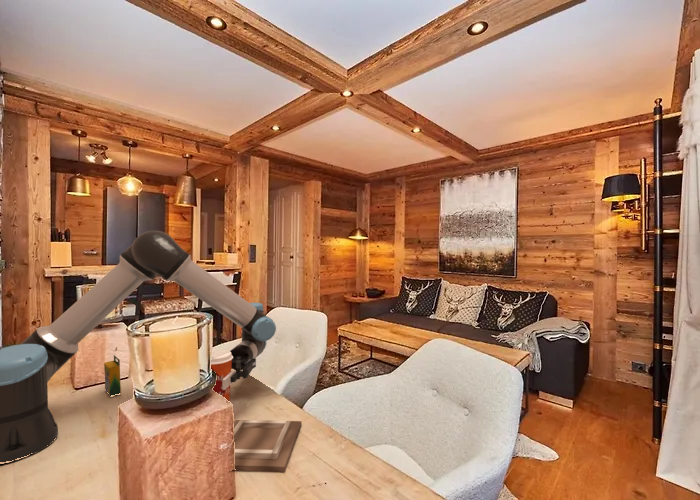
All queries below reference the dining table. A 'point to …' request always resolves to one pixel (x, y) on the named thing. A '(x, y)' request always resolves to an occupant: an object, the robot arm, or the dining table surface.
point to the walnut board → (264, 444)
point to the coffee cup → (221, 370)
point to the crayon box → (112, 376)
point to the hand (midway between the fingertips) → (209, 384)
